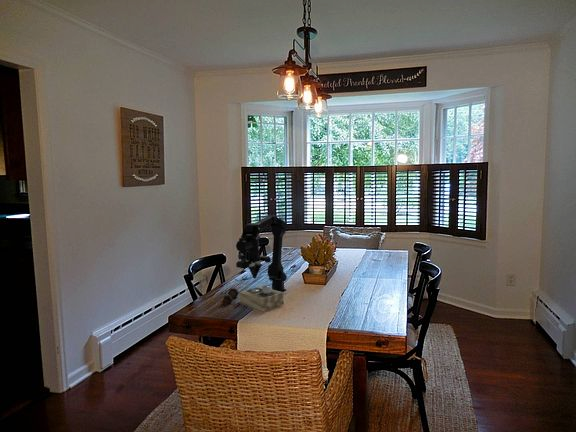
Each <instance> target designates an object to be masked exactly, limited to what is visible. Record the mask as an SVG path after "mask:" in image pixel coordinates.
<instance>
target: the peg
mask: <svg viewBox="0 0 576 432" xmlns="http://www.w3.org/2000/svg"><path fill="white" fill-rule="evenodd" d="M262 287H263V295H266V296H267V295H270V294H271V289H272V285H270V284H266V285H262Z"/></svg>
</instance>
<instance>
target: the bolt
mask: <svg viewBox="0 0 576 432" xmlns="http://www.w3.org/2000/svg"><path fill="white" fill-rule="evenodd" d="M238 295H239V291H238V289H237V288H234V287H232V288H230V289H229V290H228V292H227V294H225V295H224V296H223V299H222V304H223V305H224V306H227V305H229V304H230V305H231V304H232V302H233V300H234V298H235V299H236V298H237V297H238Z"/></svg>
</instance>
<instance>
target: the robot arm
mask: <svg viewBox="0 0 576 432" xmlns="http://www.w3.org/2000/svg"><path fill="white" fill-rule="evenodd" d="M267 227H270V232H271V233H272V236H273V242H272V255H271V256H272V258H271V257H270V256H267V255H260V253H261V251H262V250H260V247H259V246H260V245H259V243H260V242H259V239H261V236H260V235H261V233H262V230H263V229H265V228H267ZM287 227H288V225H287V223H286V221H285V220H284V219H282V218H280V217H278V216H277V215H275V214H269V215H267V216H265V217H264V218H262V219H260V220H258V221H256V222H250V223H246V224H245V226H244V228H243V229H242V230H243V231H242V233H241V237H239V238H238V241H237V242H236V244H235V245H236V246H235V248H236V250H237V251H238V252H240V253H238V254H237V258H238V261H237V262H236V263H235V266H236V268H240V269H247V268H248V269H249V272H250V274H251V276H252V278H253V279H256V278H257V276H258V275H259V271H260V270H261V267H263V263H262V262H265V263H266V264H269V263H270V264H269V265H268V266H267V276H268V280H269V281H271V289H272V290H276V291H280V292H285V291H287V289H286V288H285V282H286V280H287V279H288V278H287V277H288V275H287V274H286V273H285V271H284V265H283V264H282V252H283V251H282V250H283V239H284V238H283V237H284V236H285V234H286V232H287ZM259 234H260V235H259ZM244 252H245V253H244Z"/></svg>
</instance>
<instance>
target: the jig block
mask: <svg viewBox="0 0 576 432" xmlns="http://www.w3.org/2000/svg"><path fill="white" fill-rule="evenodd" d="M253 289H259V291H257V292H252V290H253ZM238 292H239V291H238ZM238 295H239V304H240V305H242V306H245V307H249V308H252V309H255V310H257V311H260V312H261V311H262V312H264V311H267V310H271V309H274V308H276V307H280V306H282V305H284V304H285V303H284V301H285V299H284V291H282V292H280V291H276V290H272V288H271V294H270V295H267V296H266V295H263V286H260V285H259V286H256V287H253V288H250V289H247V290H242V291H240V292H239V294H238ZM281 304H282V305H281ZM273 307H274V308H273Z"/></svg>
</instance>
